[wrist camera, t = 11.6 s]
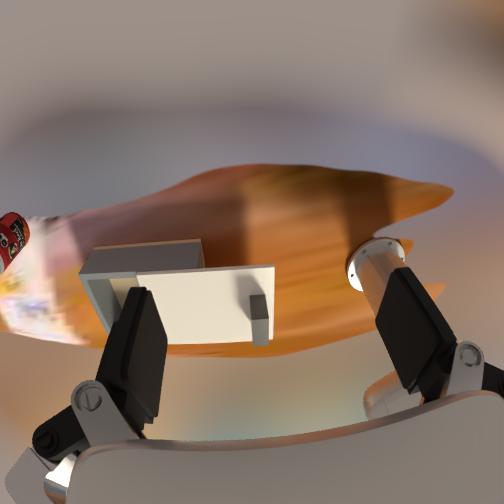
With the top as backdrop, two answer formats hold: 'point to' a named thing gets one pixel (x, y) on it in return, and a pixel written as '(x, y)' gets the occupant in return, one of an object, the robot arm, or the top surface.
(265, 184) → the top surface
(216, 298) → the sliding lid
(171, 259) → the grey box
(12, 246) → the canned food
